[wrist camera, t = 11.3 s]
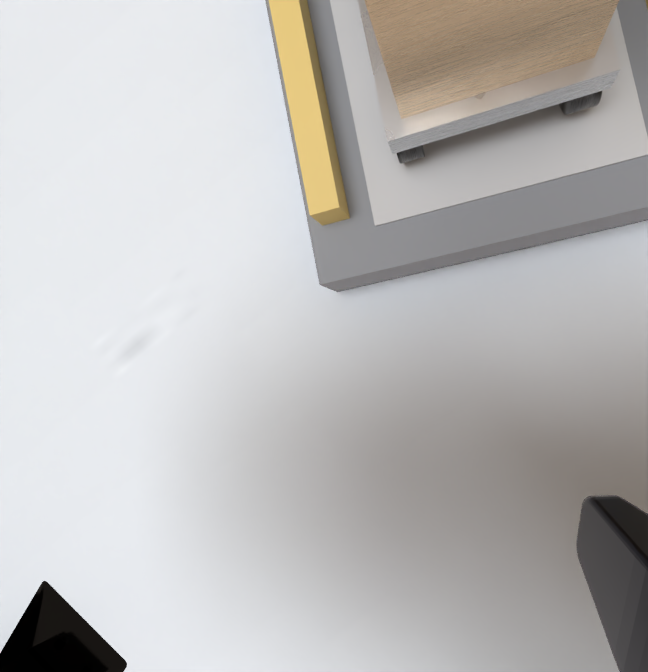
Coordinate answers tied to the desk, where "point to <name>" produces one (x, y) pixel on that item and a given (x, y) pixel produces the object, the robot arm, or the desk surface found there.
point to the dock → (450, 158)
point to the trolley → (483, 62)
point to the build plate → (56, 640)
